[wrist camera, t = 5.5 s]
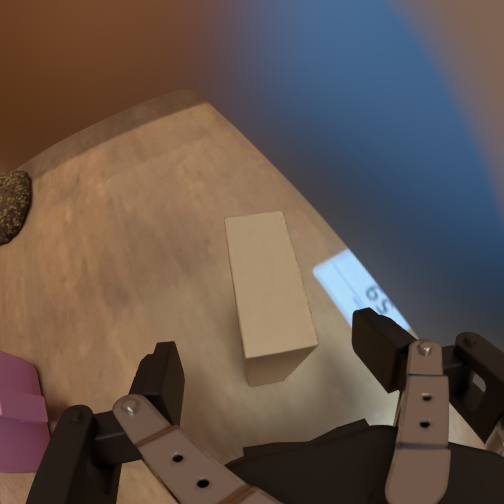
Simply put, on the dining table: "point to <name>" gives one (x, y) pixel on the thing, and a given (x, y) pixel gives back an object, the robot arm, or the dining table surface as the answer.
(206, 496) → the robot arm
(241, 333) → the cream book
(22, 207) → the bread roll
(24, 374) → the teapot
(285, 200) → the dining table surface
